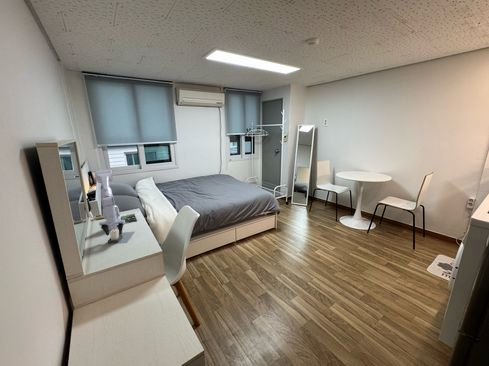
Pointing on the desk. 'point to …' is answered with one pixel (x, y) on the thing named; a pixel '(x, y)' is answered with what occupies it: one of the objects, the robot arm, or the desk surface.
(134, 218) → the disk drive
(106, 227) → the robot arm
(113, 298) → the desk surface
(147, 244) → the desk surface
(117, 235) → the plug
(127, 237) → the board
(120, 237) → the frame
